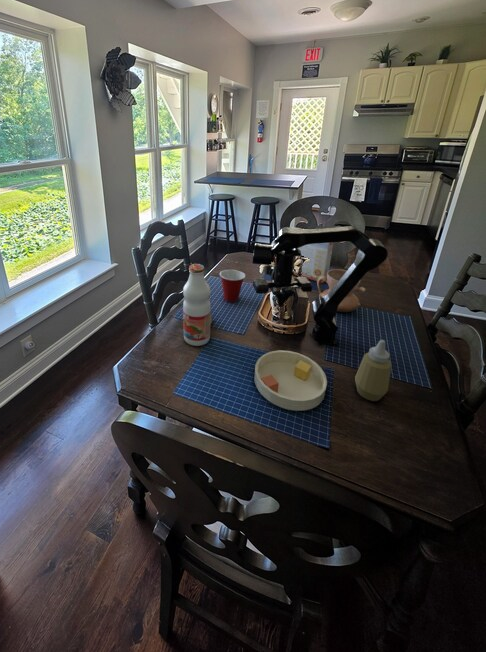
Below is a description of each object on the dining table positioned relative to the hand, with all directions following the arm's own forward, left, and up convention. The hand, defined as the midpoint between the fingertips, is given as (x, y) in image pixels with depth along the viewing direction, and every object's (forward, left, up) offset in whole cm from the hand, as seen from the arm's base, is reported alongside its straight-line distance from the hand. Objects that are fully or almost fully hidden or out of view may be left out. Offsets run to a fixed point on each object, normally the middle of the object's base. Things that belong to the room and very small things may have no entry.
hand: (279, 306), depth 111 cm
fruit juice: (+29, +1, -11) cm, 31 cm away
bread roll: (+27, -9, -11) cm, 31 cm away
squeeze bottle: (-17, +29, -11) cm, 35 cm away
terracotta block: (+11, +26, -10) cm, 30 cm away
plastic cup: (+12, -25, -11) cm, 30 cm away
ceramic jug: (-30, -16, -11) cm, 36 cm away
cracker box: (-30, -42, -11) cm, 53 cm away
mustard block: (-1, +21, -10) cm, 24 cm away
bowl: (+4, +24, -11) cm, 27 cm away
